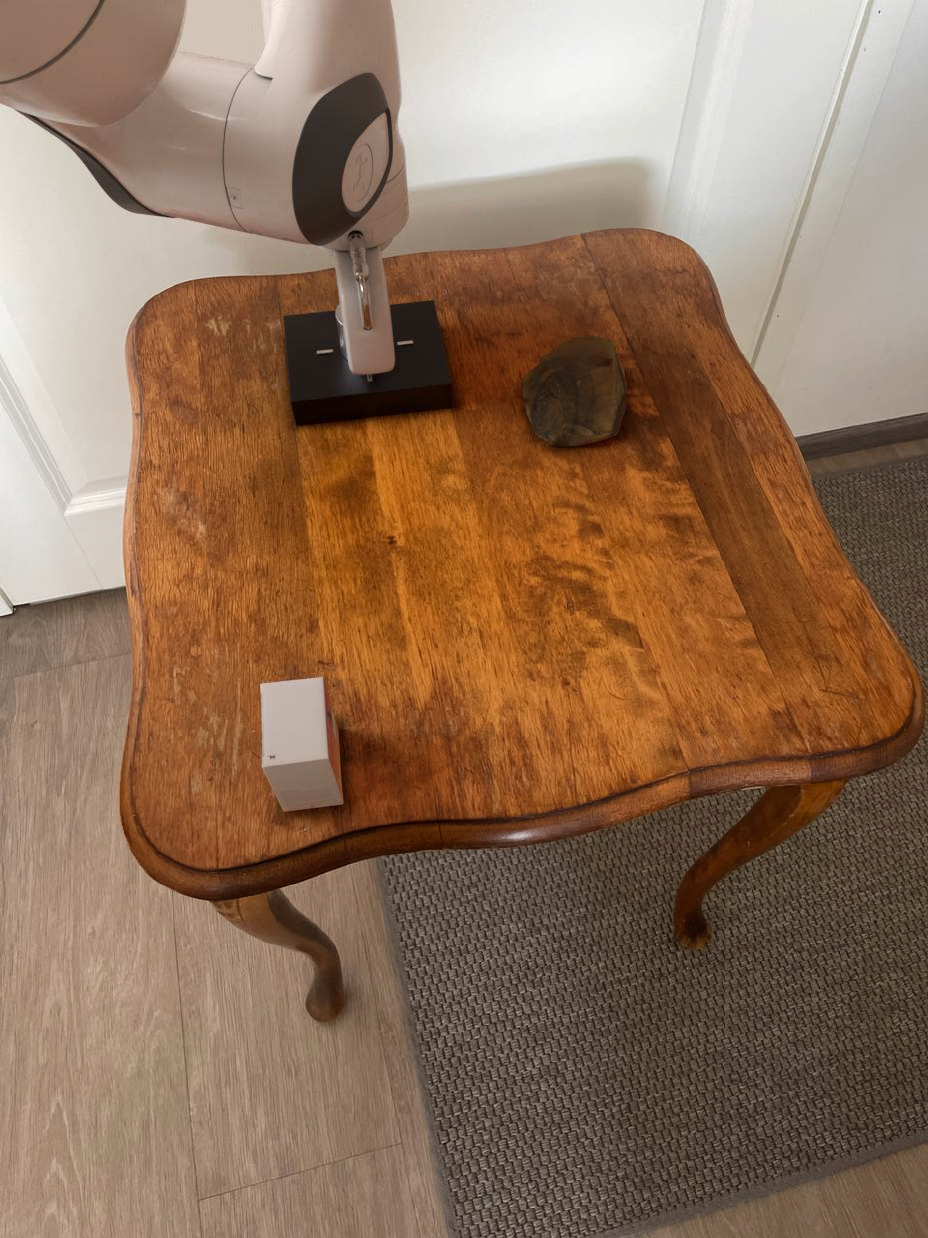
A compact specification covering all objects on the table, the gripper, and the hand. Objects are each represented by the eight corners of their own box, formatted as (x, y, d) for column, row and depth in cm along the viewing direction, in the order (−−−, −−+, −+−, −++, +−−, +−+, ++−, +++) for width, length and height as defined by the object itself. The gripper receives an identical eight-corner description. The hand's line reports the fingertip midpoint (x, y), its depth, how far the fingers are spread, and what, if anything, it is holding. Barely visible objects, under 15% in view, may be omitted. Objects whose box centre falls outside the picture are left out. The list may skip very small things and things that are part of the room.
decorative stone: (638, 446, 79) (646, 417, 76) (532, 453, 78) (535, 425, 75) (615, 361, 84) (621, 331, 81) (515, 368, 84) (518, 338, 81)
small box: (344, 806, 62) (330, 761, 55) (282, 813, 61) (260, 769, 55) (339, 726, 65) (325, 674, 58) (280, 733, 65) (259, 681, 58)
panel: (295, 426, 80) (290, 400, 77) (288, 340, 86) (282, 313, 83) (452, 407, 81) (452, 381, 78) (434, 325, 87) (433, 298, 84)
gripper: (408, 280, 63) (417, 420, 75) (376, 117, 74) (389, 262, 85) (317, 289, 63) (341, 429, 74) (299, 124, 73) (322, 269, 85)
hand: (366, 339), depth 80 cm, fingers closed on dial, 4 cm apart
